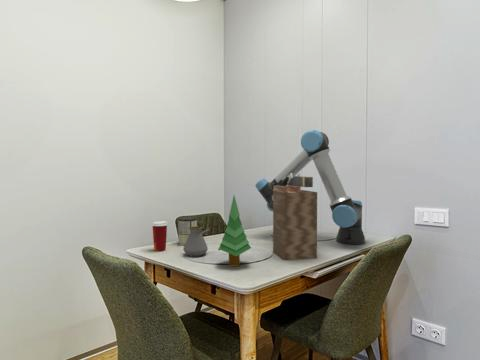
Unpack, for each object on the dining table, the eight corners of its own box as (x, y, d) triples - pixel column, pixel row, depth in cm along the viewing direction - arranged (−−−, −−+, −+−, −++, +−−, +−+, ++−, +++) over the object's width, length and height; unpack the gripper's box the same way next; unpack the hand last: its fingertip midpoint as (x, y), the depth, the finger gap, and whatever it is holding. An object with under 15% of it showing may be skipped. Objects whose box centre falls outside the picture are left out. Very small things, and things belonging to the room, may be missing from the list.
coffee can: (181, 241, 188) (181, 216, 188) (199, 241, 187) (199, 216, 187) (175, 245, 178) (175, 219, 178) (195, 246, 177) (194, 219, 176)
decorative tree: (209, 264, 143) (209, 193, 142) (239, 258, 153) (238, 192, 152) (228, 271, 133) (228, 196, 132) (258, 264, 142) (258, 194, 141)
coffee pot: (188, 259, 152) (188, 225, 151) (180, 253, 162) (179, 222, 161) (230, 253, 162) (230, 222, 161) (220, 248, 172) (220, 219, 171)
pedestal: (303, 250, 167) (303, 185, 166) (316, 257, 154) (317, 186, 152) (273, 252, 163) (273, 185, 162) (284, 260, 150) (284, 187, 148)
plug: (293, 184, 174) (293, 175, 174) (312, 187, 153) (312, 177, 153) (285, 184, 173) (285, 175, 173) (304, 187, 152) (304, 177, 152)
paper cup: (170, 249, 170) (170, 221, 170) (161, 252, 163) (161, 223, 163) (158, 247, 173) (158, 220, 173) (148, 251, 166) (148, 222, 166)
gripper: (296, 201, 186) (313, 181, 165) (267, 202, 181) (281, 182, 161) (293, 189, 189) (310, 168, 169) (265, 189, 185) (278, 168, 165)
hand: (296, 175), depth 165 cm, fingers closed on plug, 4 cm apart
